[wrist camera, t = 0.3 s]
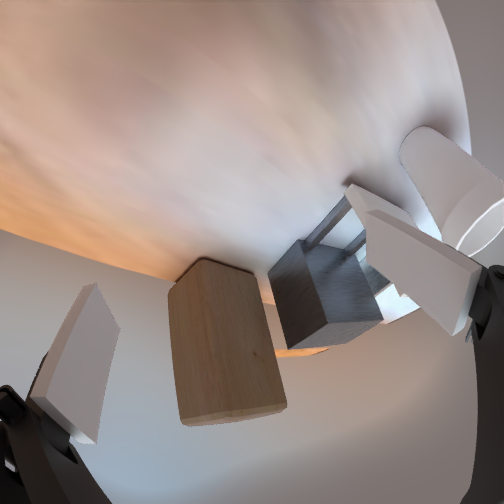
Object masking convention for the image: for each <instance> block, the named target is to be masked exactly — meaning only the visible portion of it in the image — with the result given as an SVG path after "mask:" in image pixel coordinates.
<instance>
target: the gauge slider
mask: <svg viewBox="0 0 504 504" xmlns="http://www.w3.org/2000/svg"><path fill="white" fill-rule="evenodd" d="M344 194H345V196H346V197H347V199H348V201H349V202H350V204H351V206H352V207H353V209H354V211H355V212H356V214H357V216H358V217H359V219H360V221H361V223H362V224H363V226H364V228H365V230H366V212H367V211H372V210H376V209H379V210H381V211H383V212H385V213H387V214H389V215H391V216H393V217H395V218H397V219H399V220H401V221H403V222H405V223H407V224H409V225H411V226H413V227H415V228H417V229H419V228H418V227H417V225H416V223H415V222H414V220H413V219H412V218H411V216H410V215H409V213H408V212H406V211H404V210H402V209H401V208H399V207H397V206H395V205H393V204H392V203H390V202H388V201H386V200H384V199H382V198H380V197H378V196H376V195H375V194H373V193H371V192H369V191H367V190H365V189H363V188H361V187H359V186H357V185H355V184H351V185H350V186H349V187H348V188H347V190H346V191H345V192H344ZM395 287H396V290H397V292H398V294H399V296H400V297H408V296H407V295H406V294H405V293H404V292H402V291H401V290H400V289H399V288H398V287H397V286H395Z"/></svg>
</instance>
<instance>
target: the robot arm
mask: <svg viewBox="0 0 504 504" xmlns="http://www.w3.org/2000/svg"><path fill="white" fill-rule="evenodd" d="M366 262H367V263H369V264H370V265H371V266H372V267H374V268H375V269H376V270H377V271H379V272H380V273H381V274H382V275H383V276H385V277H386V278H387V279H388V280H389V281H391V282H392V283H393V284H394V285H395V286H397V287H398V288H399V289H400V290H401V291H402V292H404V293H405V294H406V295H407V296H408V297H409V298H411V299H412V300H413V301H414V302H415V303H416V304H417V305H419V306H420V307H421V308H422V309H423V310H424V311H425V312H426V313H428V314H429V315H430V316H431V317H432V318H433V319H434V320H435V321H436V322H438V323H439V324H440V325H441V326H442V327H443V328H444V329H445V330H446V331H447V332H448V333H449V334H450V335H451V336H453V335H455V334H456V333H458V332H459V331H460V330H462V329H463V328H464V326H465V323H466V321H467V317H468V315H469V316H470V317H471V318H472V319H473V321H472V323H471V326H470V328H469V331H468V334H467V336H466V340H465V342H468V340H469V337H470V335H472V340H471V342H473V344H474V352H475V362H476V374H477V392H478V424H477V442H476V452H475V461H474V468H473V474H472V480H471V485H470V488H469V490H468V492H467V493H466V495H465V496H464V497H463V499H462V501H461V503H460V504H504V266H501V265H493V266H490V267H489V269H487V268H486V267H484V266H483V265H481V264H479V263H478V262H476V261H475V260H473V259H471V258H470V257H468V256H466V255H463V253H461V252H460V251H457V250H456V249H455V248H453V247H451V246H449V245H447V244H444V243H442V242H441V241H439V240H437V239H435V238H433V237H432V236H430V235H428V234H426V233H424V232H422V231H420V230H419V229H417V228H415V227H413V226H411V225H409V224H407V223H405V222H403V221H401V220H399V219H397V218H395V217H393V216H391V215H389V214H387V213H385V212H383V211H381V210H379V209H376V210H372V211H367V212H366ZM119 331H120V327H119V326H118V324H117V322H116V320H115V318H114V317H113V315H112V313H111V311H110V309H109V307H108V305H107V303H106V301H105V299H104V298H103V295H102V293H101V291H100V289H99V287H98V285H97V283H94V284H90V285H87V286H84V287H83V288H82V290H81V292H80V293H79V295H78V297H77V299H76V300H75V302H74V304H73V305H72V307H71V309H70V311H69V313H68V315H67V316H66V318H65V320H64V322H63V324H62V326H61V328H60V330H59V332H58V334H57V336H56V338H55V340H54V342H53V344H52V346H51V348H50V350H49V351H48V352H47V354H46V355H45V356H44V357H43V359H42V362H41V364H40V366H39V369H38V371H37V373H36V376H35V378H34V380H33V382H32V385H31V387H30V390H29V393H28V395H27V398H26V401H24V400H23V399H22V398H21V397H20V396H19V395H18V394H17V393H16V392H15V391H14V389H13V388H12V387H11V386H9V385H3V386H1V387H0V419H1V420H2V421H0V504H112V503H111V502H110V500H109V499H108V498H107V496H106V495H105V494H104V492H103V491H102V489H101V488H100V487H99V485H98V484H97V483H96V481H95V480H94V478H93V477H92V475H91V473H90V472H89V470H88V469H87V467H86V466H85V464H84V462H83V461H82V459H81V457H80V456H79V454H78V452H77V451H76V449H75V447H74V446H73V445H72V444H71V443H70V442H69V439H70V435H71V436H72V437H73V438H74V439H76V440H77V441H78V442H79V443H85V444H97V436H98V429H99V423H100V416H101V410H102V405H103V400H104V395H105V389H106V385H107V380H108V376H109V371H110V366H111V362H112V358H113V354H114V350H115V346H116V342H117V339H118V335H119ZM5 460H6V461H8V462H9V463H10V464H12V465H13V466H14V467H15V472H13V471H11V470H10V469H9V468H7V467H6V466H5Z"/></svg>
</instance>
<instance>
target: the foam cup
mask: <svg viewBox="0 0 504 504" xmlns="http://www.w3.org/2000/svg"><path fill="white" fill-rule="evenodd" d="M399 159H400V161H401V164H402V165H403V167H404V169H405V171H406V172H407V174H408V175H409V177H410V178H411V180H412V182H413V183H414V185H415V187H416V188H417V190H418V192H419V193H420V195H421V197H422V199H423V200H424V202H425V204H426V206H427V208H428V210H429V211H430V213H431V215H432V217H433V219H434V221H435V223H436V225H437V227H438V229H439V231H440V233H441V235H442V241H443V243H444V244H447V245H449V246H451V247H453V248H455V249H456V250H457V251H460V252H461V253H463V255H466V256H468V257H470V256H472V255H474V254H475V253H477V252H478V251H480V250H482V249H483V248H484V247H485V246H486V245H488V244H489V243H490V242H491V241H492V240H493V239H494V238H495V237H496V236H497V235H498V234H499V233H500V232H501V230H502V229H503V228H504V182H503V181H502V180H501V179H500V178H497V177H496V176H494V175H493V174H492V173H491V172H490V171H489V170H488V169H486V168H485V167H484V166H483V165H482V164H480V163H479V162H478V161H477V160H476V159H474V158H473V157H472V156H470V155H469V154H468V153H467V152H465V151H464V150H463V149H461V148H460V147H459V146H457V145H456V144H454V143H453V142H452V141H450V140H449V139H447V138H446V137H445V136H443V135H442V134H440V133H439V132H437V131H436V130H434V129H432V128H431V127H424V126H422V127H419V128H417V129H414V130H413V131H412V132H411V133H410V134H409V135H408V136H406V137H405V139H404V141H403V143H402V145H401V147H400V153H399Z"/></svg>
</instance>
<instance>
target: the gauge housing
mask: <svg viewBox="0 0 504 504" xmlns="http://www.w3.org/2000/svg"><path fill="white" fill-rule="evenodd" d="M357 186H358V185H357ZM359 187H360V186H359ZM393 205H394V204H393ZM351 208H352V206H351V204H350V202H349V201H348V199H347V197H346V196H344V197H343V199H342V200H341V201H340V202H339V203H338V204H337V205H336V207H335V208H334V209H333V210H332V211H331V212H330V213H329V215H328V216H327V217H326V218H325V219H324V220H323V221H322V222H321V224H320V225H319V226H318V227H317V228H316V229H315V230H314V231H313V232H312V234H311V235H310V236H309V237H308V238H307V239H306V240H305V241H302V240H297V241H296V242H295V243H294V244H293V246H292V247H291V248H290V249H289V250H288V251H287V252H286V253H285V255H284V256H283V257H282V258H281V259H280V260H279V261H278V262H277V264H276V265H275V266H274V267H273V268H272V269H271V270H270V271H269V272H268V278H269V281H270V285H271V289H272V292H273V296H274V300H275V303H276V307H277V311H278V314H279V318H280V322H281V325H282V329H283V333H284V337H285V340H286V344H287V348H288V350H290V349H302V348H312V347H321V346H329V345H337V344H345V343H347V342H349V341H351V340H353V339H354V338H356V337H357V336H359V335H361V334H362V333H364V332H365V331H367V330H369V329H370V328H372V327H374V326H375V325H377V324H378V323H380V322H381V321H383V320H384V319H383V316H382V314H381V311H380V309H379V307H378V304H377V302H376V300H375V297H376V296H377V295H378V294H380V293H381V292H382V291H384V290H385V289H386V288H388V287H389V286H390V285H391V284H393V283H392V282H391V281H389V280H388V279H387V278H386V277H385V276H383V275H382V274H381V273H380V272H379V271H377V270H376V269H375V268H374V267H372V266H371V265H370V264H369V263H367V262H366V257H365V258H364V259H363V260H362V261H361V262H358V260H357V258H356V256H355V254H354V253H355V252H356V251H357V250H359V249H360V248H361V247H362V246H363V245H364V244H365V243H366V230H364V231H363V232H362V233H361V234H360V235H359V236H358V237H357V238H356V239H355V240H354V241H353V242H352V243H351V244H350V245H349V246H347V247H346V248H345V249H344V250H342V249H338V248H334V247H329V246H325V245H320V244H318V243H319V242H320V241H321V240H322V239H323V238H324V237H325V236H326V235H327V234H328V233H329V232H330V231H331V230H332V228H333V227H334V226H335V225H336V224H337V223H338V222H339V221H340V220H341V219H342V218H343V217H344V216H345V214H346V213H347V212H348V211H349V210H350V209H351Z"/></svg>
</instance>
